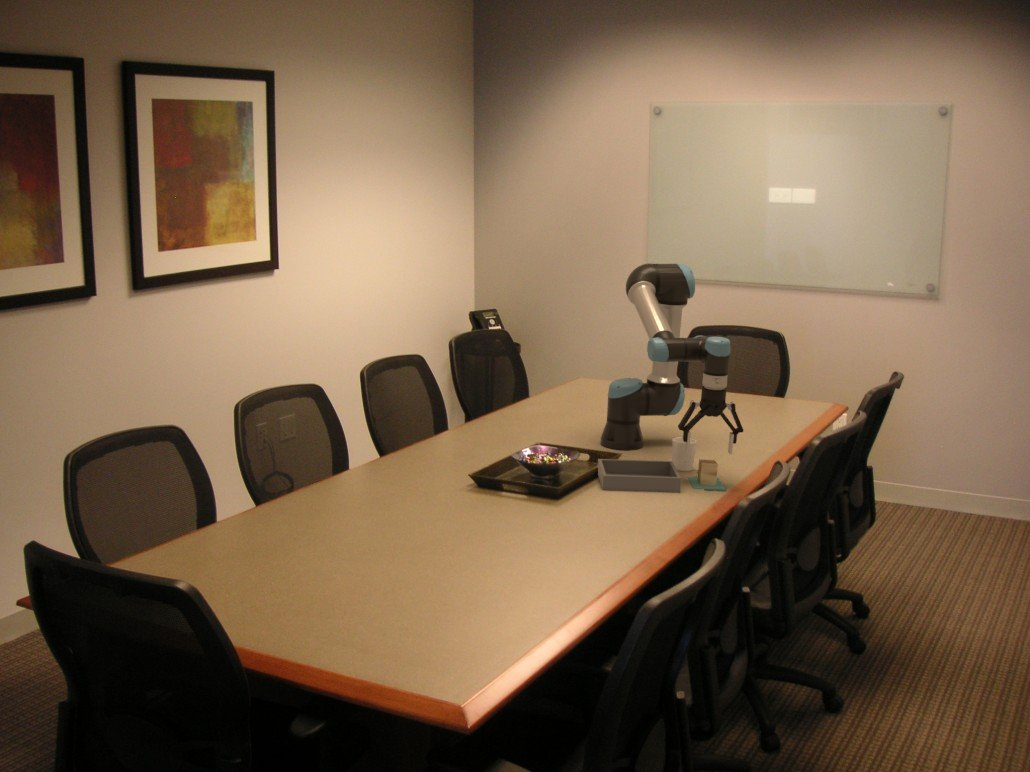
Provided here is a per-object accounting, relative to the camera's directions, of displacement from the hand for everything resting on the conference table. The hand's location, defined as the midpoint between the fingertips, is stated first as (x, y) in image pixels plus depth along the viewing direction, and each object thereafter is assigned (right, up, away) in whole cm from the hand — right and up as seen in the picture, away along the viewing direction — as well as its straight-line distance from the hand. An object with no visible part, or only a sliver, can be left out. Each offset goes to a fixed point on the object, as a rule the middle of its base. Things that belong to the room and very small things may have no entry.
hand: (708, 452), depth 346 cm
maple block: (0, -10, +2) cm, 10 cm away
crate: (-22, -10, 0) cm, 24 cm away
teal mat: (0, -10, +2) cm, 11 cm away
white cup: (-6, -7, +18) cm, 20 cm away
